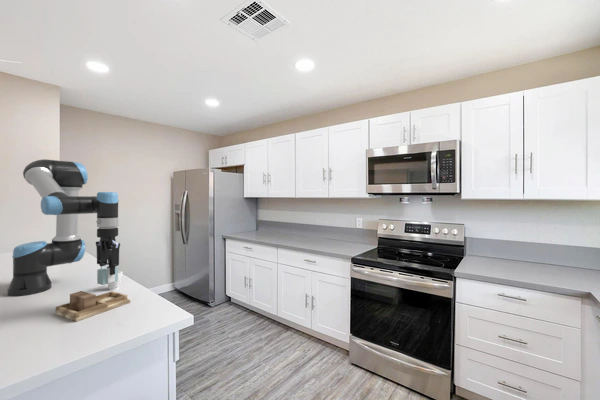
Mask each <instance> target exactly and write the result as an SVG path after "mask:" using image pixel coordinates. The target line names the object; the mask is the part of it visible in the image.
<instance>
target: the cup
mask: <svg viewBox="0 0 600 400" xmlns="http://www.w3.org/2000/svg"><path fill="white" fill-rule="evenodd" d="M122 277H123V271H122V270H118V281H116V282H112V283H109V284H107V287H108V290H109V291H116V290H118V289H120V285H121V281H122Z"/></svg>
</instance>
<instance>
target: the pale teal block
mask: <svg viewBox="0 0 600 400" xmlns="http://www.w3.org/2000/svg"><path fill="white" fill-rule="evenodd" d="M118 271H119V267H118V266H116V267H115V282H116V281H118ZM96 273H97V274H96V275H97V276H96V277H97V279H96V280H97V283H96V284H97V285H101V286H105V285H108V284H109V283H107V268H103V269H101V268H99V269H97V271H96ZM111 283H112V282H111Z"/></svg>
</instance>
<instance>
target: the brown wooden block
mask: <svg viewBox="0 0 600 400" xmlns="http://www.w3.org/2000/svg"><path fill="white" fill-rule="evenodd" d="M96 296H97V294H94V293H90V292H86V291H82V290H80V291H77V292H72V293H70V294H69V303H70V309H71V310H74V311H77V312H79V311H82V310H85V309H88V308H91V307H94V306H96Z"/></svg>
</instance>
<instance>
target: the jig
mask: <svg viewBox="0 0 600 400" xmlns="http://www.w3.org/2000/svg"><path fill="white" fill-rule="evenodd" d="M130 303H131V299H128V294H125V293H121V292H116V291H114V290H110V291H108V292H105V293H102V294H98V295H96V306H94V307H91V308H88V309H85V310H82V311H79V312H77V311H74V310H71V309H70V302H68V303H64V304H61V305H57V306H55V311H54V313H55V315H57V316H59V317H63V318H66V319H68V320H71V321H73V322H76V323H77V322H80V321H84V320H86V319H88V318H91V317H94V316H97V315H100V314H103V313H105V312H108V311H111V310H114V309H116V308H120V307H122V306H124V305H127V304H130Z"/></svg>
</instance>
